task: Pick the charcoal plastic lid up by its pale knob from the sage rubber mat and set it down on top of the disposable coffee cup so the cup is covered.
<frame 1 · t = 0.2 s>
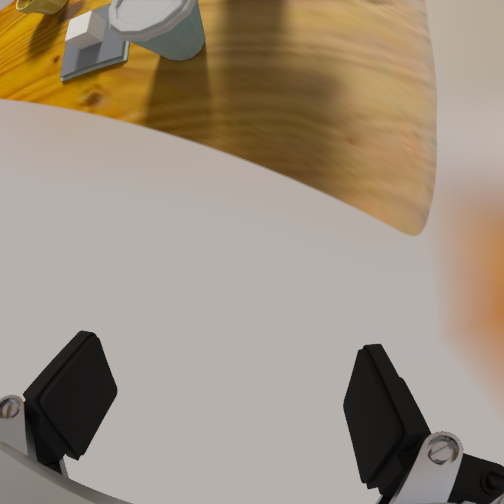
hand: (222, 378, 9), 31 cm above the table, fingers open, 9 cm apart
lid: (96, 36, 29), resting on mat
disposable coffee cup: (182, 44, 31), on the table
plant pot: (59, 3, 26), on the table
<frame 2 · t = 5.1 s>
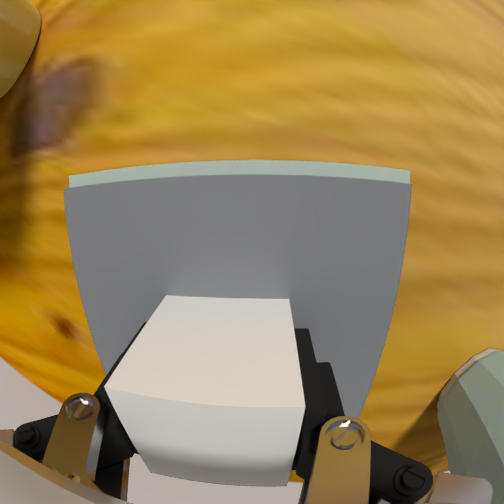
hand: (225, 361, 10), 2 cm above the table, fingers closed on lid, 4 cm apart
lid: (231, 334, 11), resting on mat, touching gripper
disposable coffee cup: (466, 382, 13), on the table
plant pot: (10, 55, 8), on the table
mat: (232, 329, 12), on the table
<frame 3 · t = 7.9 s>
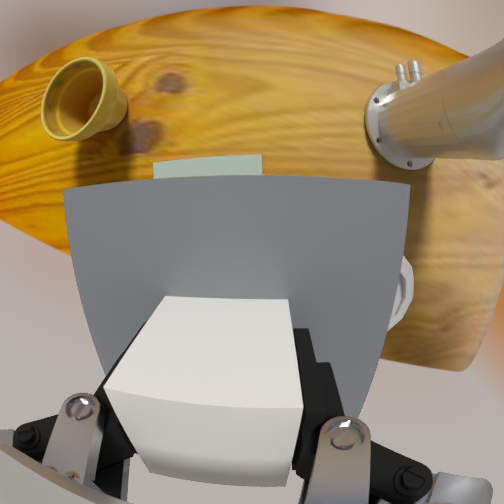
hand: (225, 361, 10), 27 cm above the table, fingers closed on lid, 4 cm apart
lid: (230, 334, 11), point 25 cm above the table, touching gripper
disposable coffee cup: (330, 252, 36), on the table
plant pot: (109, 109, 31), on the table
mat: (208, 211, 35), on the table
when the fingers open (18 cm above the table, at t = 11.0 s): lid drops 2 cm, resting on disposable coffee cup.
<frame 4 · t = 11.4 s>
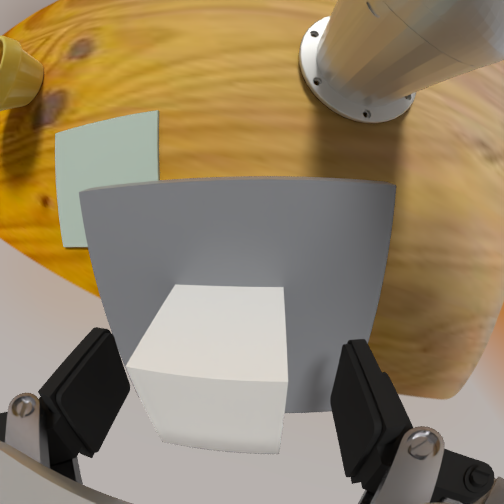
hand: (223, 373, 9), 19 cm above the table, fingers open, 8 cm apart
lid: (233, 317, 13), point 15 cm above the table, touching disposable coffee cup
plant pot: (30, 84, 22), on the table
mat: (102, 184, 26), on the table
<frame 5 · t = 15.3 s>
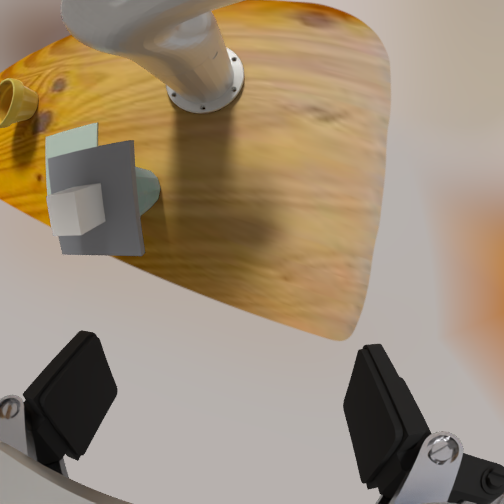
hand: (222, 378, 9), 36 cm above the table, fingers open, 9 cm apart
lid: (93, 201, 29), point 15 cm above the table, touching disposable coffee cup
disposable coffee cup: (142, 188, 43), on the table, touching lid
plant pot: (30, 106, 38), on the table
mat: (70, 165, 42), on the table
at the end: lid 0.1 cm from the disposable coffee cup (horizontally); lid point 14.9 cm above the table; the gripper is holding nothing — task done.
